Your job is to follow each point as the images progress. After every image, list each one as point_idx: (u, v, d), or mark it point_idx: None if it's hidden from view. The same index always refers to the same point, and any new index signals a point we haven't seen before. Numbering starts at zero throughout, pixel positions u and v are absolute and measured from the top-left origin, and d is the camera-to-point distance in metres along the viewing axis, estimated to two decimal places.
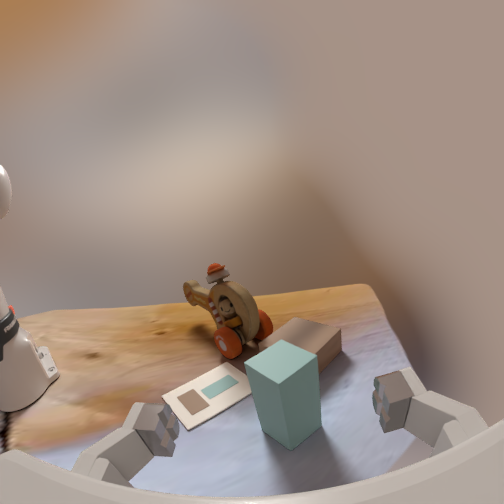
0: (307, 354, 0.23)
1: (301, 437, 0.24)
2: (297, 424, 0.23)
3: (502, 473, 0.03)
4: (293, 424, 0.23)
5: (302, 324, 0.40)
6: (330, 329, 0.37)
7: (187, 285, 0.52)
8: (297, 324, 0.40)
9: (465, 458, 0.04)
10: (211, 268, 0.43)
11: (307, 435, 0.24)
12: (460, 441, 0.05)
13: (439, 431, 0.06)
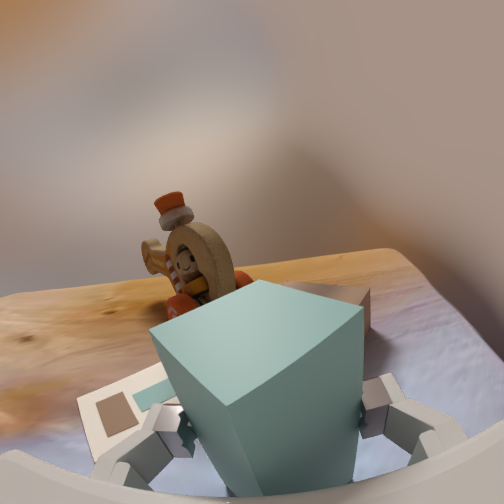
0: (333, 306, 0.08)
1: None
2: None
3: (502, 473, 0.03)
4: None
5: (303, 288, 0.24)
6: (353, 291, 0.22)
7: (144, 245, 0.37)
8: None
9: (465, 458, 0.04)
10: None
11: None
12: (436, 452, 0.05)
13: (418, 440, 0.06)
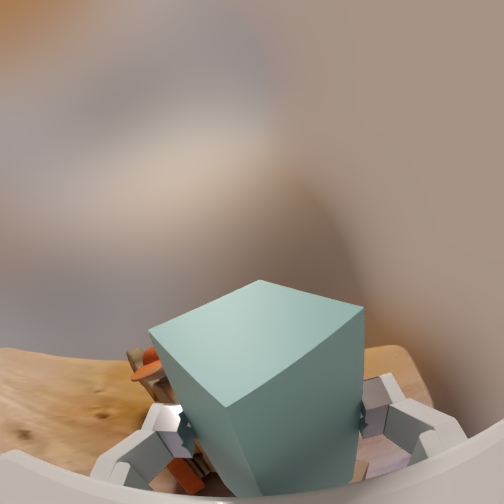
0: (333, 307, 0.08)
1: None
2: None
3: (503, 473, 0.03)
4: None
5: None
6: None
7: (129, 358, 0.31)
8: None
9: (465, 458, 0.04)
10: (146, 359, 0.22)
11: None
12: (436, 452, 0.05)
13: (418, 440, 0.06)
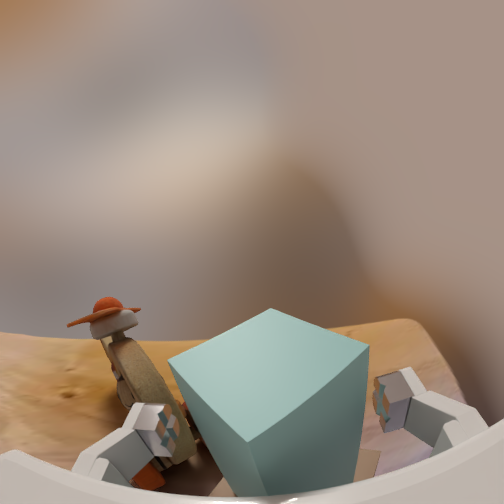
0: (341, 343, 0.08)
1: None
2: None
3: (502, 473, 0.03)
4: None
5: None
6: (358, 459, 0.12)
7: None
8: None
9: (465, 458, 0.04)
10: (96, 309, 0.17)
11: None
12: (460, 441, 0.05)
13: (439, 431, 0.06)
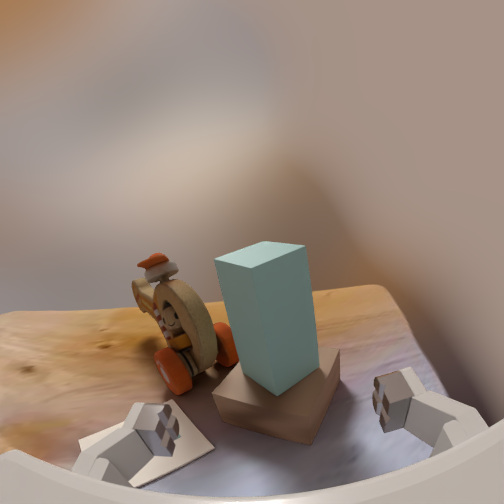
0: (293, 246, 0.19)
1: (291, 377, 0.20)
2: (284, 351, 0.19)
3: (502, 473, 0.03)
4: (278, 348, 0.18)
5: None
6: (323, 353, 0.23)
7: (134, 285, 0.37)
8: None
9: (465, 458, 0.04)
10: None
11: (300, 376, 0.20)
12: (460, 441, 0.05)
13: (439, 431, 0.06)
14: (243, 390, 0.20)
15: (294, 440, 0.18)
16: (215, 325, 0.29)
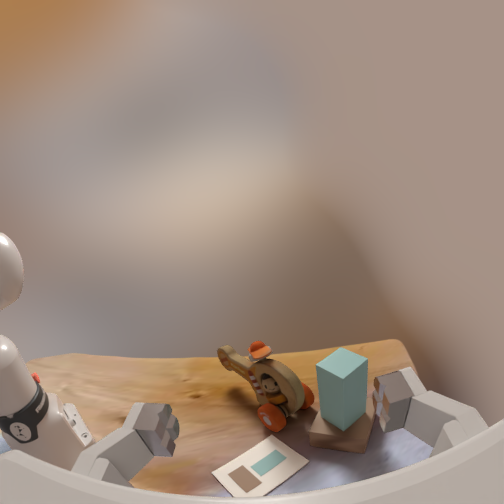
0: (360, 358, 0.31)
1: (351, 421, 0.31)
2: (350, 409, 0.31)
3: (502, 473, 0.03)
4: (348, 409, 0.30)
5: None
6: (368, 401, 0.35)
7: (223, 352, 0.50)
8: None
9: (465, 458, 0.04)
10: (254, 347, 0.41)
11: (355, 419, 0.32)
12: (460, 441, 0.05)
13: (439, 431, 0.06)
14: (327, 427, 0.32)
15: (355, 451, 0.30)
16: None
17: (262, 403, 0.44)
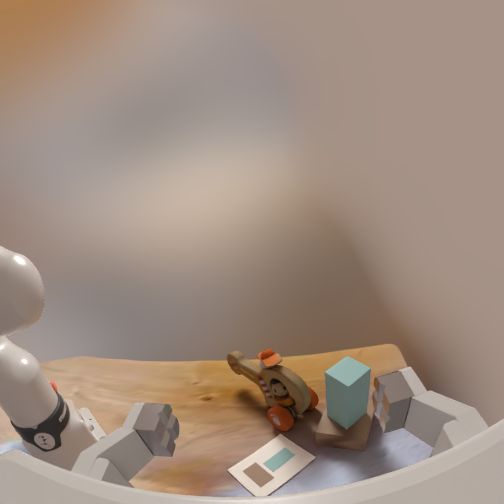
0: (364, 367, 0.35)
1: (354, 420, 0.35)
2: (353, 411, 0.35)
3: (502, 473, 0.03)
4: (351, 411, 0.34)
5: None
6: (368, 403, 0.39)
7: (232, 358, 0.53)
8: None
9: (465, 458, 0.04)
10: (265, 355, 0.44)
11: (357, 419, 0.36)
12: (460, 441, 0.05)
13: (439, 431, 0.06)
14: (331, 428, 0.36)
15: (356, 449, 0.34)
16: None
17: (270, 405, 0.47)
